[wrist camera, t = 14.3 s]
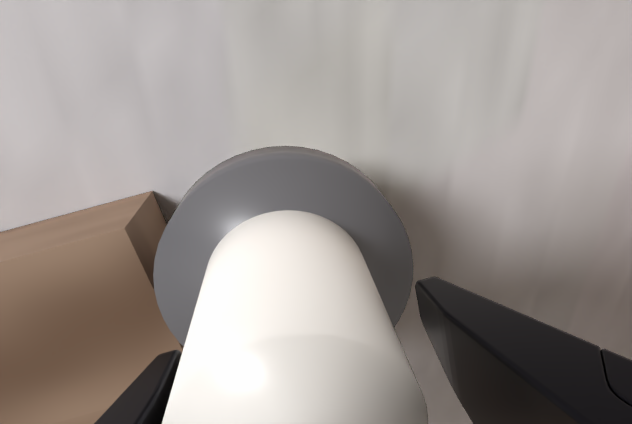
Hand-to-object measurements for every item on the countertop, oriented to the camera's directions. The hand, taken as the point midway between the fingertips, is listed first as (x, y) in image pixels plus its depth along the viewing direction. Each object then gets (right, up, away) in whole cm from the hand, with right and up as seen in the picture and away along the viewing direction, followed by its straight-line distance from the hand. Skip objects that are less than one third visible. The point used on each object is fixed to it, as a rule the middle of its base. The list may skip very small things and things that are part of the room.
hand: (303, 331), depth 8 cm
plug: (-1, +2, +6) cm, 7 cm away
